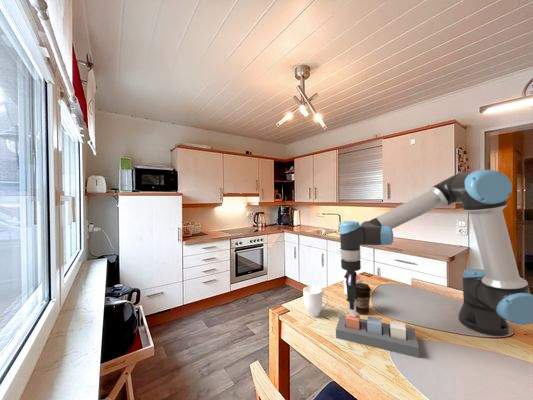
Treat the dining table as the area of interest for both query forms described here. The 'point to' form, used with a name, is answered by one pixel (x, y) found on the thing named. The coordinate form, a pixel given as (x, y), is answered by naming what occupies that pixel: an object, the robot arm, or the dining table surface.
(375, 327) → the key slate
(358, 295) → the coffee cup
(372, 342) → the key panel
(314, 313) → the mug
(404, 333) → the key white
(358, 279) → the cup
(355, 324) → the key rust
